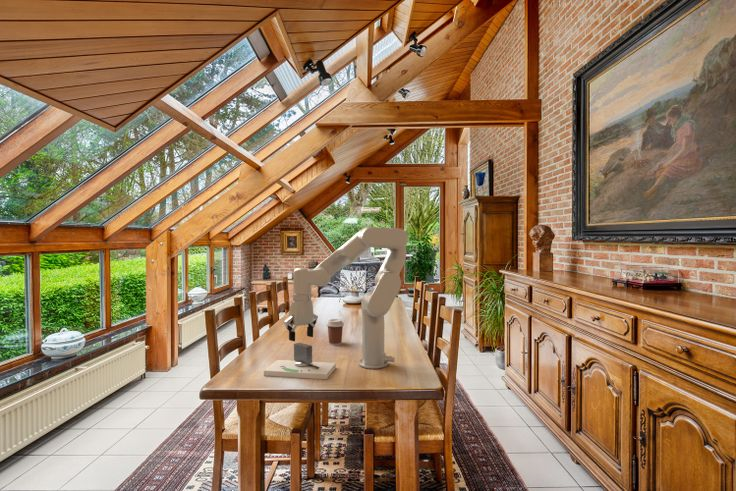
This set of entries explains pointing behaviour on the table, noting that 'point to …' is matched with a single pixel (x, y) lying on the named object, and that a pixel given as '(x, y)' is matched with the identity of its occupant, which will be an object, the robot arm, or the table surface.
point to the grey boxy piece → (303, 355)
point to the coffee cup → (335, 331)
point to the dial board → (300, 370)
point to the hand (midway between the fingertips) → (301, 338)
